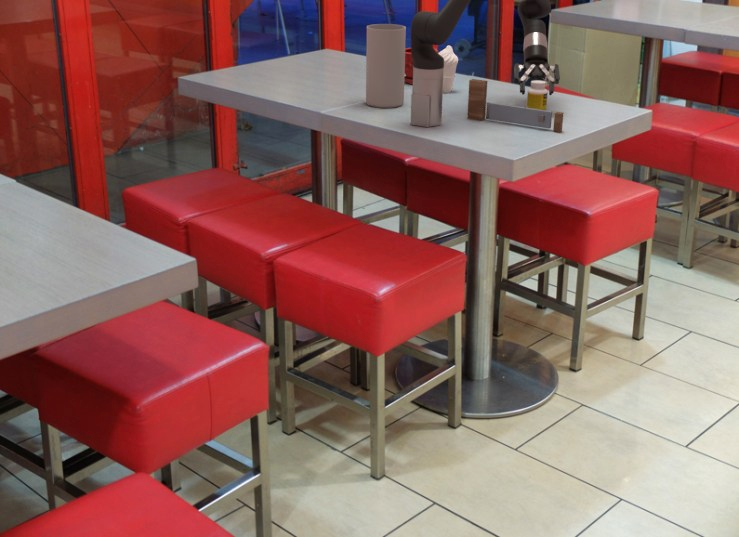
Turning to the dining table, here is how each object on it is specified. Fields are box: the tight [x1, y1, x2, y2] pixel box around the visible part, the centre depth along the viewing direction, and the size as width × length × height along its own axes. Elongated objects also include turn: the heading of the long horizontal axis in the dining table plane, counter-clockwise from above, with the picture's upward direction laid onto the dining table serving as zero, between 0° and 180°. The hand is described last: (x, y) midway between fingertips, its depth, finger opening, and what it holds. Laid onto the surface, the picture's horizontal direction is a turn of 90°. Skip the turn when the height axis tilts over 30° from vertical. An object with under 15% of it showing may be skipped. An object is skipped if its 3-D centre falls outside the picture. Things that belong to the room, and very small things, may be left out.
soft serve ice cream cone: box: [438, 45, 459, 94], centre depth 344 cm, size 8×8×16 cm
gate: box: [485, 101, 553, 129], centre depth 302 cm, size 2×21×5 cm, turn 58°
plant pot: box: [404, 47, 439, 85], centre depth 358 cm, size 13×13×12 cm
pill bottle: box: [526, 79, 549, 111], centre depth 312 cm, size 6×6×11 cm
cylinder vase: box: [365, 23, 407, 109], centre depth 323 cm, size 12×12×25 cm
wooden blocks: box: [466, 78, 564, 133], centre depth 302 cm, size 2×30×12 cm, turn 58°
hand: (537, 93), depth 312 cm, fingers open, 8 cm apart
